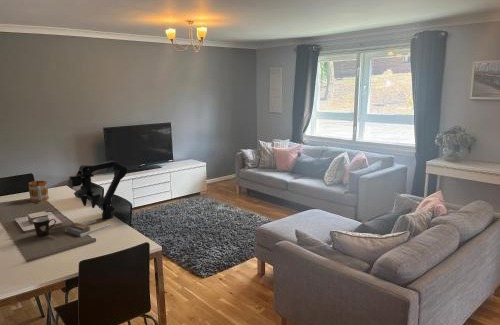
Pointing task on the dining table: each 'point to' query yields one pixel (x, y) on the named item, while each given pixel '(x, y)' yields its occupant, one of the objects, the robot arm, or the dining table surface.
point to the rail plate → (81, 232)
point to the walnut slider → (81, 227)
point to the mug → (38, 191)
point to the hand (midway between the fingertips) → (89, 207)
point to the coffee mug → (42, 226)
